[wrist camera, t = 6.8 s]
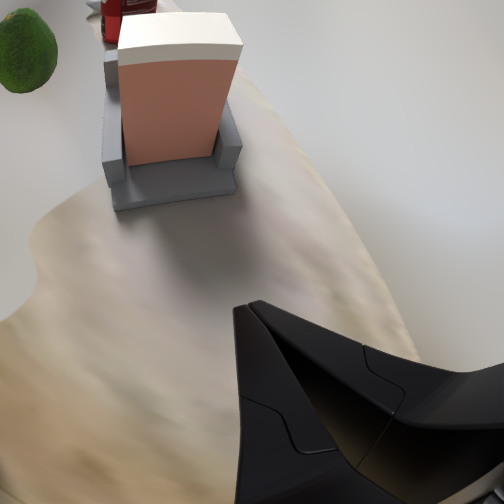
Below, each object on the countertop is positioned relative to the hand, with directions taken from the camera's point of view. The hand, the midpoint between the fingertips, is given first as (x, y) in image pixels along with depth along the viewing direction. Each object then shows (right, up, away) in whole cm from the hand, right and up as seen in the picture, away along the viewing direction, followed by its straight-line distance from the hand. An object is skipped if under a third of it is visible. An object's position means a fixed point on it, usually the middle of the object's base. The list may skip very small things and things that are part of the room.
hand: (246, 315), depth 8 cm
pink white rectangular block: (-7, +12, +15) cm, 20 cm away
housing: (-8, +12, +16) cm, 21 cm away
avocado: (-26, +22, +14) cm, 37 cm away
